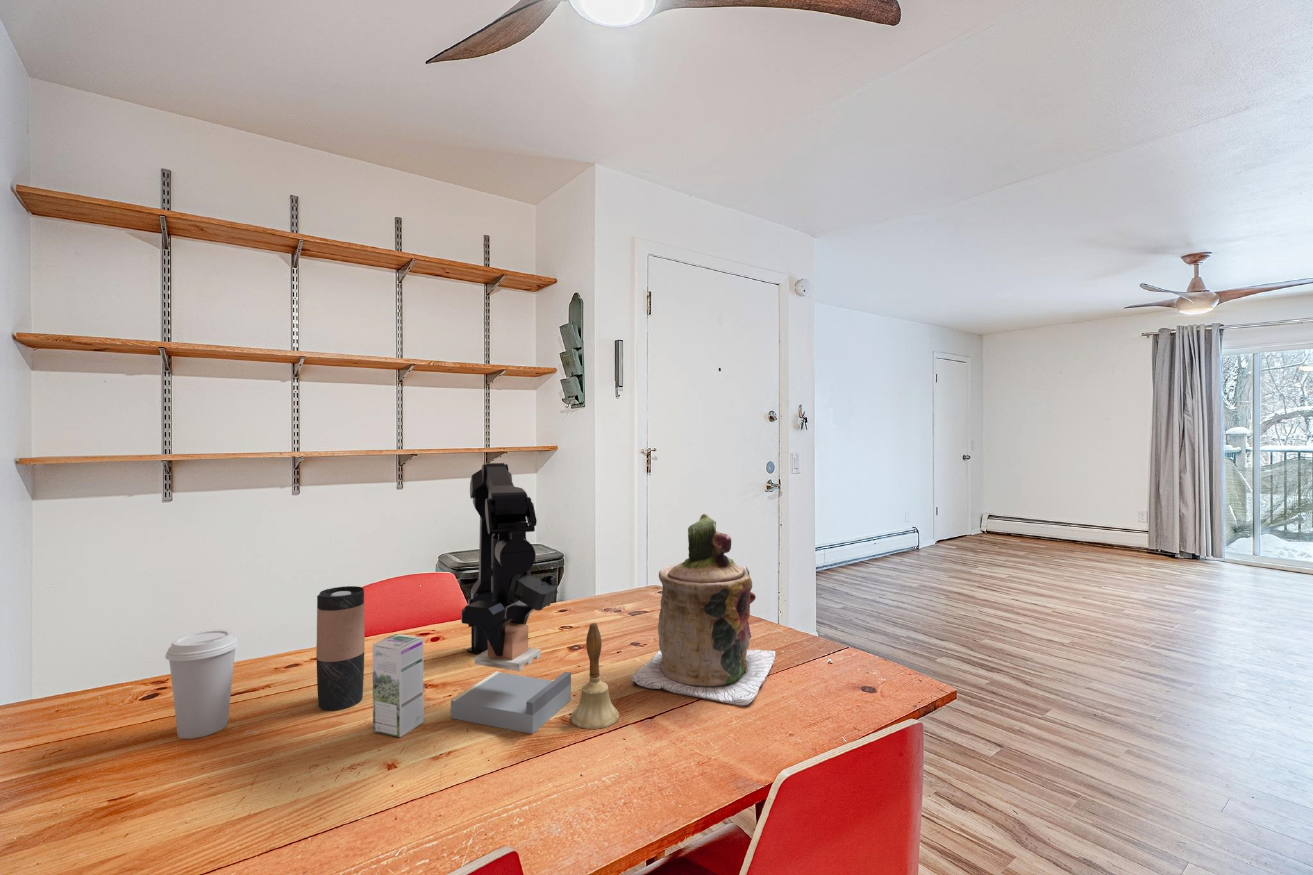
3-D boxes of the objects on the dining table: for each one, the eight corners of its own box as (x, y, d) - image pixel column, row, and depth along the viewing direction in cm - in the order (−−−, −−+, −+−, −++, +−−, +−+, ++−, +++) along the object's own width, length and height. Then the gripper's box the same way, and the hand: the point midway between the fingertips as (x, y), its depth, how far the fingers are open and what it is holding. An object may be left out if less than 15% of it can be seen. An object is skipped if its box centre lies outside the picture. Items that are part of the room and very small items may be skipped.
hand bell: (592, 734, 93) (592, 635, 93) (560, 718, 99) (560, 624, 99) (629, 716, 99) (629, 623, 99) (597, 702, 105) (597, 613, 105)
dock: (450, 718, 99) (450, 688, 99) (496, 687, 111) (496, 661, 111) (532, 733, 93) (532, 702, 93) (570, 699, 106) (570, 672, 106)
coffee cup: (156, 749, 89) (157, 651, 89) (174, 722, 97) (174, 633, 97) (233, 734, 93) (233, 641, 93) (243, 710, 102) (243, 624, 102)
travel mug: (373, 697, 107) (373, 588, 107) (335, 715, 100) (335, 598, 100) (345, 689, 110) (345, 584, 110) (306, 706, 103) (306, 593, 103)
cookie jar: (626, 687, 111) (625, 520, 111) (671, 645, 134) (670, 507, 134) (753, 709, 102) (753, 527, 102) (778, 660, 125) (778, 511, 125)
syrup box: (425, 722, 97) (425, 635, 97) (399, 739, 92) (399, 647, 92) (398, 716, 99) (398, 631, 99) (370, 733, 94) (370, 643, 94)
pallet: (474, 664, 101) (474, 631, 101) (498, 650, 107) (498, 619, 107) (519, 671, 98) (519, 637, 98) (540, 656, 104) (540, 624, 104)
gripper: (517, 578, 91) (517, 677, 91) (573, 555, 109) (573, 638, 109) (459, 572, 95) (459, 667, 95) (522, 551, 112) (522, 631, 112)
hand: (508, 650), depth 103 cm, fingers closed on pallet, 5 cm apart
